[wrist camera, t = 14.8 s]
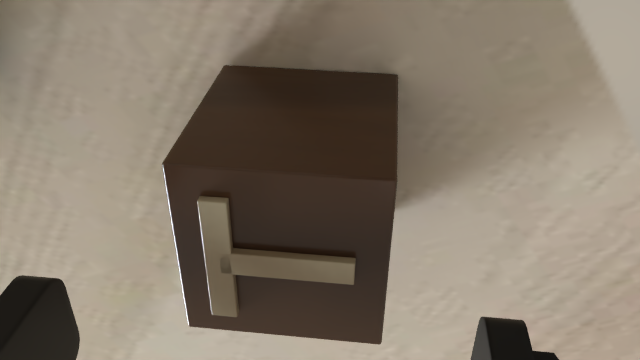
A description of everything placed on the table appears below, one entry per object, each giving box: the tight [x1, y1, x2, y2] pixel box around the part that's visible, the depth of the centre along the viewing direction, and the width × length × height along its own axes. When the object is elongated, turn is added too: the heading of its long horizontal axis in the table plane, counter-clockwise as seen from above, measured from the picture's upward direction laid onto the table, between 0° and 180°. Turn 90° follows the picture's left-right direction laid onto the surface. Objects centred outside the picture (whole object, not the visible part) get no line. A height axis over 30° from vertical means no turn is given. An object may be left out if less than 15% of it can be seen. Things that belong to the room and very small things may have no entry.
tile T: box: [162, 65, 398, 344], centre depth 15 cm, size 5×5×5 cm
